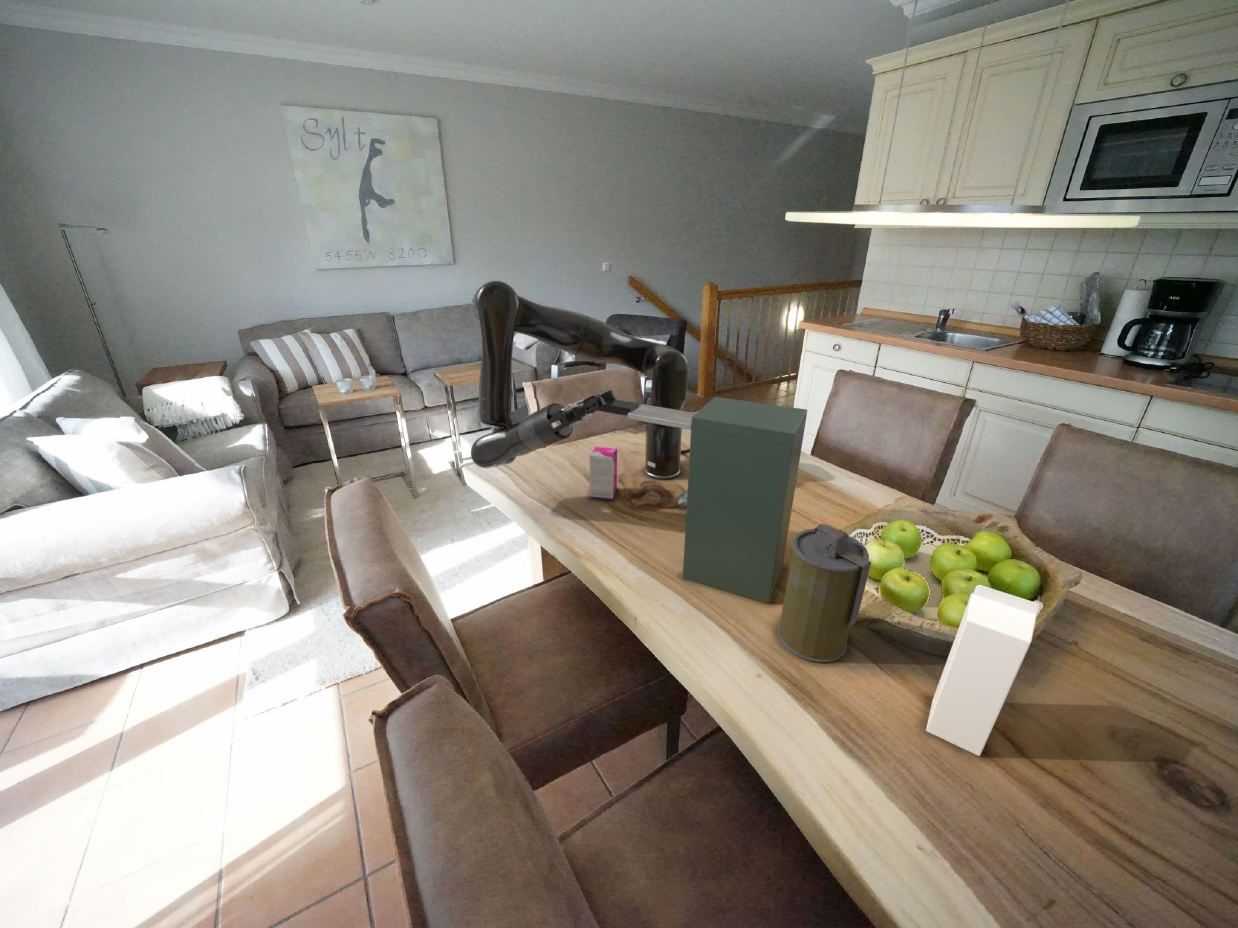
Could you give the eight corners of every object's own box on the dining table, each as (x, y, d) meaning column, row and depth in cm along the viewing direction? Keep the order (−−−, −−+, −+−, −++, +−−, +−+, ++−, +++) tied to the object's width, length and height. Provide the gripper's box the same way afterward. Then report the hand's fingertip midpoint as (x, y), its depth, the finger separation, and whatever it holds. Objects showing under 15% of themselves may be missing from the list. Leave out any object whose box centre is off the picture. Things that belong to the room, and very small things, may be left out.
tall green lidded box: (703, 545, 105) (714, 396, 91) (782, 566, 98) (807, 409, 84) (682, 578, 95) (691, 417, 81) (768, 604, 88) (794, 433, 75)
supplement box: (613, 501, 122) (612, 457, 117) (589, 498, 123) (587, 455, 118) (617, 489, 127) (617, 447, 122) (594, 487, 128) (593, 446, 123)
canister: (764, 633, 82) (779, 528, 73) (802, 606, 88) (821, 506, 79) (824, 676, 74) (850, 564, 66) (862, 643, 80) (890, 536, 71)
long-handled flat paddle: (595, 401, 99) (595, 393, 99) (702, 419, 90) (703, 411, 90) (579, 410, 95) (579, 402, 94) (690, 430, 85) (691, 421, 85)
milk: (932, 700, 70) (978, 570, 61) (984, 723, 67) (1041, 589, 58) (925, 732, 66) (973, 597, 57) (980, 758, 63) (1041, 619, 53)
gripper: (514, 422, 98) (579, 389, 88) (555, 401, 109) (617, 370, 99) (533, 456, 99) (598, 428, 89) (571, 432, 110) (633, 405, 100)
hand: (608, 398), depth 94 cm, fingers closed on long-handled flat paddle, 3 cm apart
